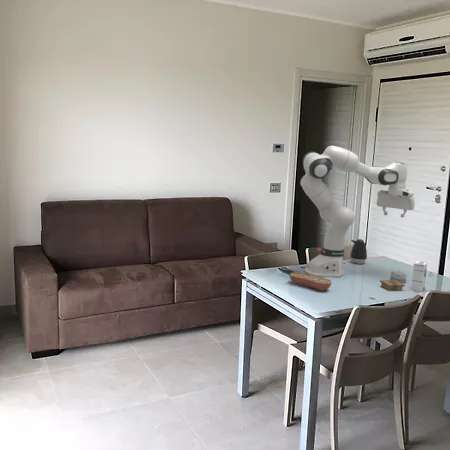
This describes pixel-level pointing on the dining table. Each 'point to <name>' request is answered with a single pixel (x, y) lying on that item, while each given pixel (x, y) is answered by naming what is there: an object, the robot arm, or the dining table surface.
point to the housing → (398, 276)
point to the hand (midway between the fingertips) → (393, 216)
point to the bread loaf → (310, 281)
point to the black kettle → (358, 252)
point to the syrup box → (419, 276)
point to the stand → (391, 285)
